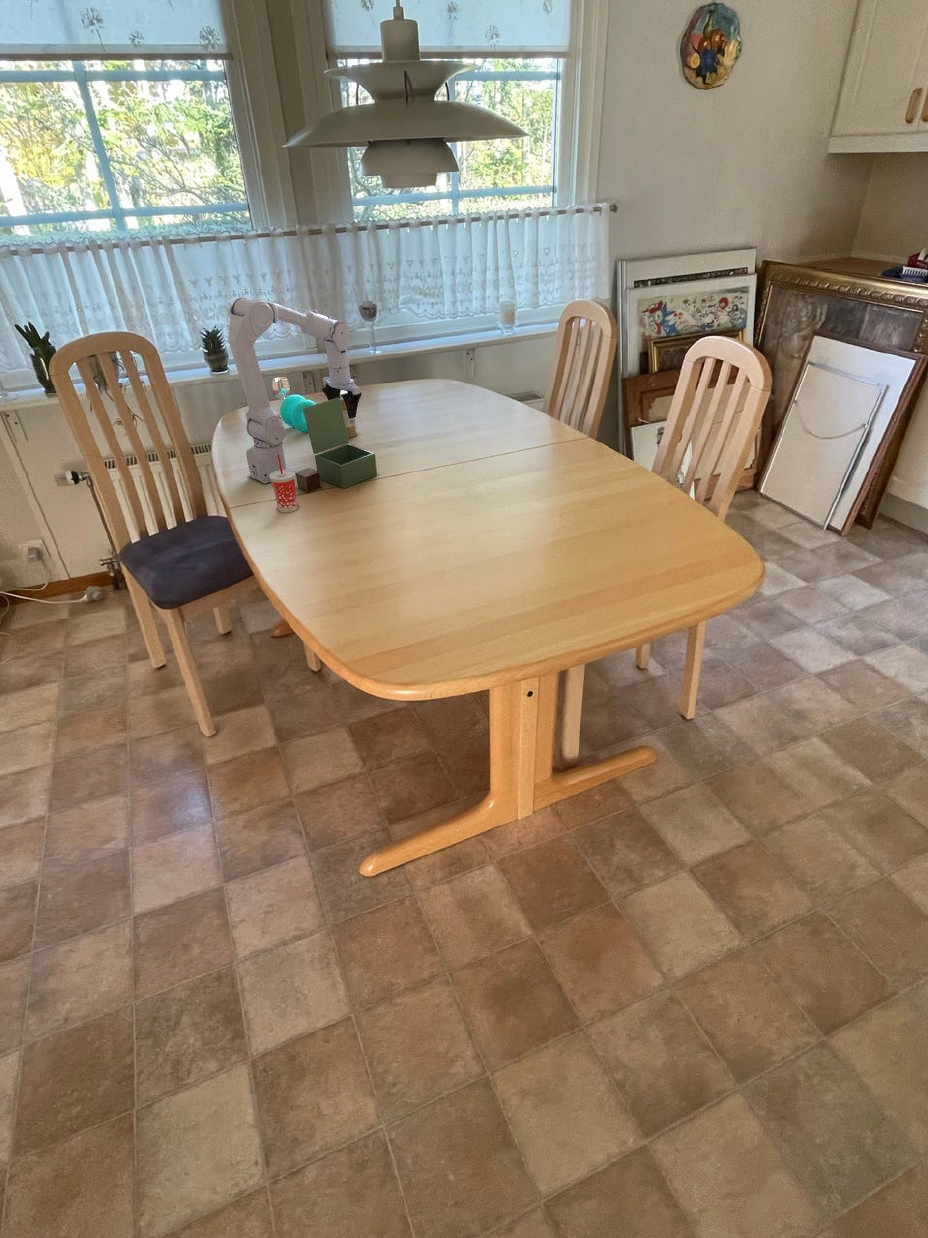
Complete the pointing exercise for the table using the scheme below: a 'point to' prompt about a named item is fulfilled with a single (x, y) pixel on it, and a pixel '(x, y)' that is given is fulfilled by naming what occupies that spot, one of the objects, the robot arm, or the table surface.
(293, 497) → the beverage cup
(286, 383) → the wineglass
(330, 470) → the chest
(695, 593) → the table surface
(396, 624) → the table surface
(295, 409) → the donuts
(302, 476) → the block
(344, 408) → the sprinkles bottle
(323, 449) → the lid
